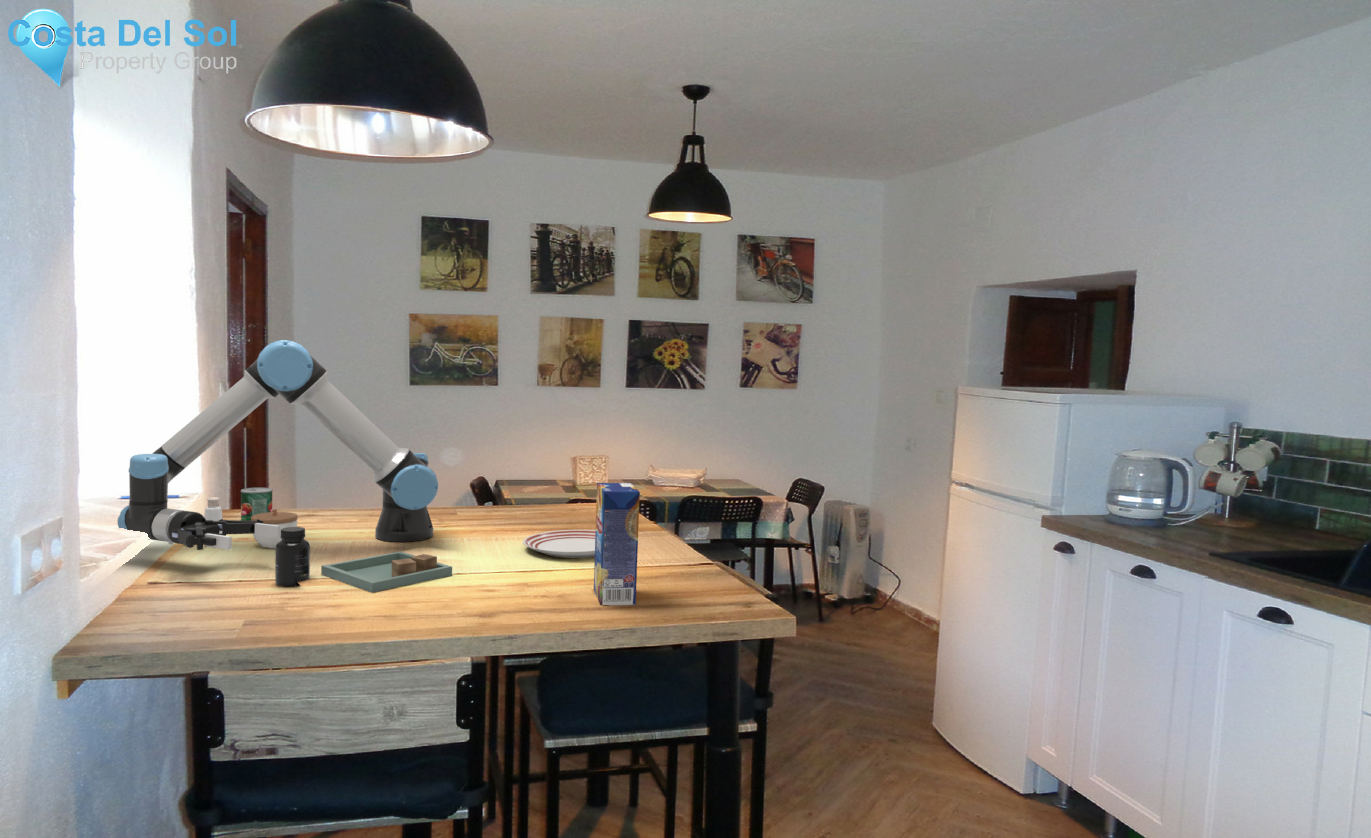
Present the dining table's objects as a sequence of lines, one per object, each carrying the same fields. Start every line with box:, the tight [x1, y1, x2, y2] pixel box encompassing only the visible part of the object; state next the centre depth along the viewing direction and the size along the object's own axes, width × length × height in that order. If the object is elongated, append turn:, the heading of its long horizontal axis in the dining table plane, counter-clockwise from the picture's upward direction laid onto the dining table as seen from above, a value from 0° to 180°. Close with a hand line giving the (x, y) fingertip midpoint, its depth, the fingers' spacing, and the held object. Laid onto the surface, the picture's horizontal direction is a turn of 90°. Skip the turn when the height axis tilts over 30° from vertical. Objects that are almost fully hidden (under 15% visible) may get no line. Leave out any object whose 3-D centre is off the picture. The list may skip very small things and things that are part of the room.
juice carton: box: [593, 482, 641, 606], centre depth 184 cm, size 12×8×24 cm, turn 13°
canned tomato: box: [240, 487, 273, 521], centre depth 237 cm, size 8×8×11 cm
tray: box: [320, 550, 453, 594], centre depth 192 cm, size 20×20×3 cm
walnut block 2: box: [411, 553, 438, 572], centre depth 193 cm, size 4×4×4 cm
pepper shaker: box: [203, 496, 224, 534], centre depth 222 cm, size 5×5×11 cm
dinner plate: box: [522, 529, 596, 559], centre depth 227 cm, size 27×27×3 cm
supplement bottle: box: [274, 526, 311, 588], centre depth 186 cm, size 7×7×12 cm
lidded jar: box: [251, 508, 299, 549], centre depth 219 cm, size 11×11×9 cm
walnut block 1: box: [392, 558, 416, 577], centre depth 189 cm, size 4×4×4 cm
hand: (255, 537), depth 188 cm, fingers open, 13 cm apart
